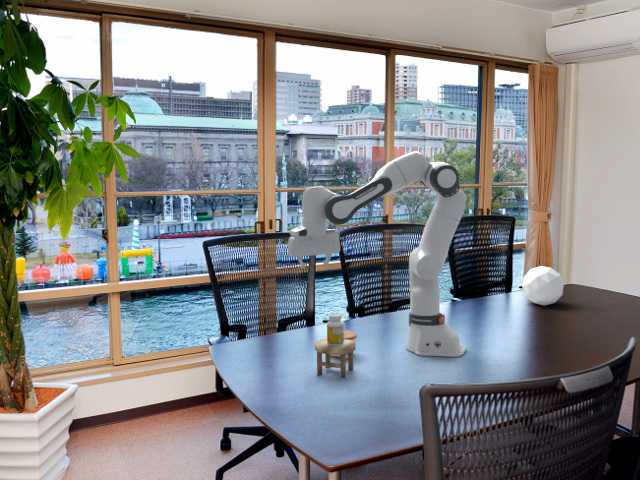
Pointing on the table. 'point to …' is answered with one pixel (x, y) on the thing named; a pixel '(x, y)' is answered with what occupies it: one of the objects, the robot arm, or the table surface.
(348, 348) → the stool
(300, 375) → the table surface
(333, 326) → the supplement bottle
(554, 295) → the geometric polyhedron
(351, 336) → the lidded jar
